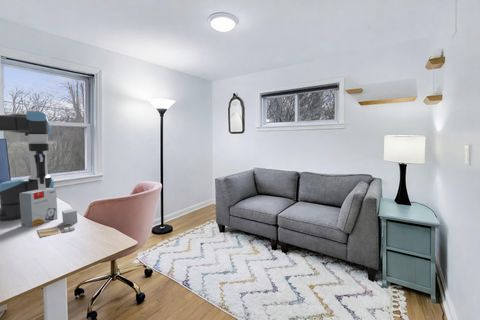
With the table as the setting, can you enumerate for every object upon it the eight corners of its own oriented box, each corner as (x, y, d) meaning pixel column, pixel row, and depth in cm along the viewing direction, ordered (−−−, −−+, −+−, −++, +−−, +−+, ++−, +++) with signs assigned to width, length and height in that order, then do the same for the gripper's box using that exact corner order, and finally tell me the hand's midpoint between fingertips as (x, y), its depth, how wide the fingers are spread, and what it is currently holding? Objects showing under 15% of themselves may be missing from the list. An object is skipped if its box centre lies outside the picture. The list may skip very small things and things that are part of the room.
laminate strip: (57, 228, 132) (56, 226, 132) (70, 226, 137) (69, 223, 137) (61, 235, 124) (61, 232, 124) (75, 232, 128) (75, 229, 128)
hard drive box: (32, 229, 132) (29, 193, 130) (20, 228, 133) (17, 193, 131) (58, 219, 147) (56, 187, 145) (48, 219, 148) (46, 187, 146)
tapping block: (62, 224, 139) (62, 211, 139) (75, 221, 144) (74, 208, 143) (65, 227, 135) (64, 213, 134) (77, 224, 139) (76, 210, 139)
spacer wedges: (64, 230, 126) (63, 228, 126) (73, 228, 129) (73, 226, 129) (64, 231, 125) (64, 229, 125) (74, 229, 128) (74, 227, 128)
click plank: (37, 232, 126) (37, 230, 126) (56, 229, 132) (56, 226, 132) (40, 239, 118) (40, 236, 118) (60, 235, 123) (60, 233, 123)
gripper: (27, 142, 120) (31, 189, 123) (29, 143, 111) (33, 193, 114) (46, 142, 126) (49, 186, 128) (50, 143, 117) (53, 190, 119)
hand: (42, 189), depth 121 cm, fingers closed
